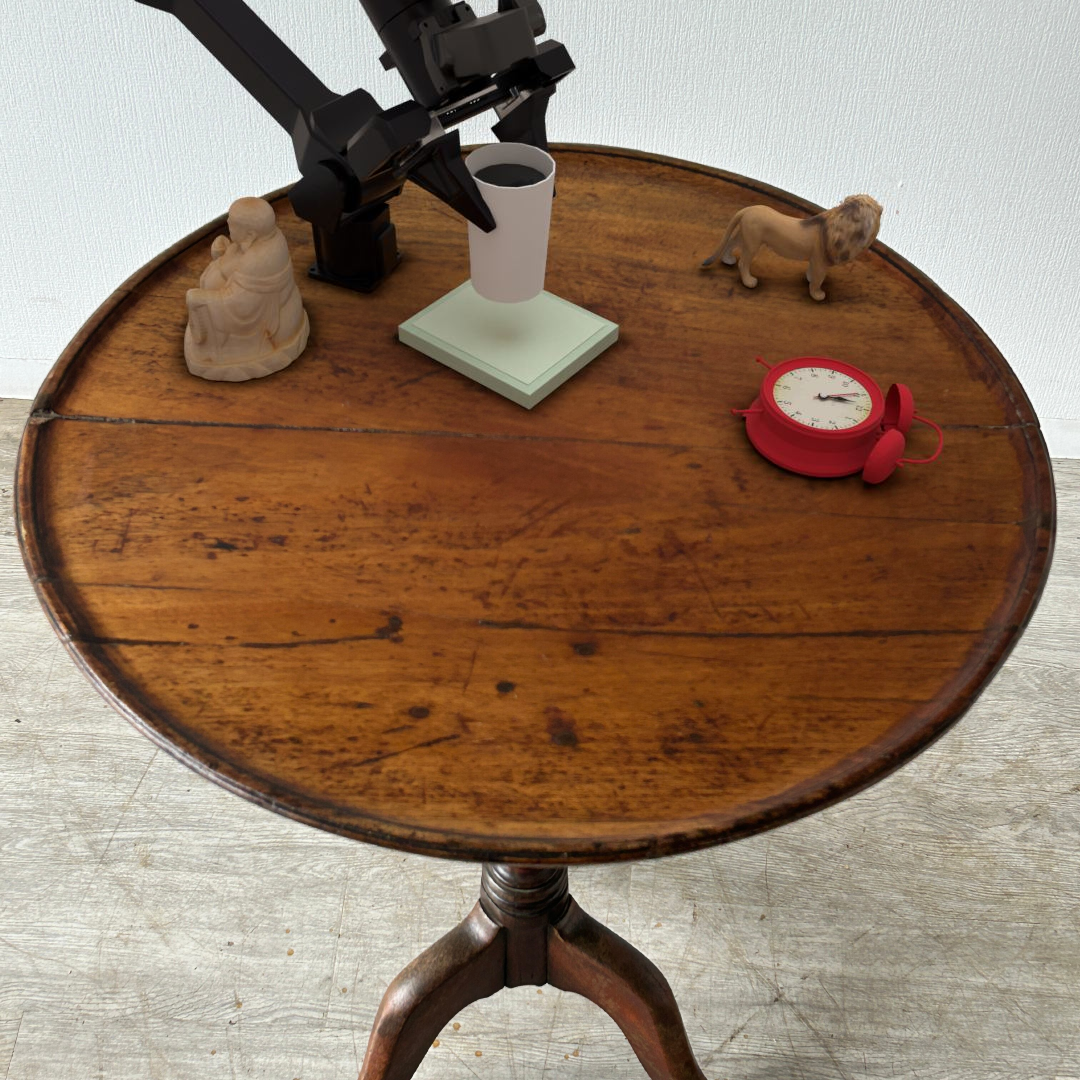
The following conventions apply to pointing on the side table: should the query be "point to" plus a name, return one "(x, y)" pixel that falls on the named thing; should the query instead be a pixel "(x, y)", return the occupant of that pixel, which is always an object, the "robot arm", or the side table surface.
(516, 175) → the white cup
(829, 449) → the alarm clock
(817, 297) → the lion figurine
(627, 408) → the side table surface
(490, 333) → the board
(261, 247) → the statue
